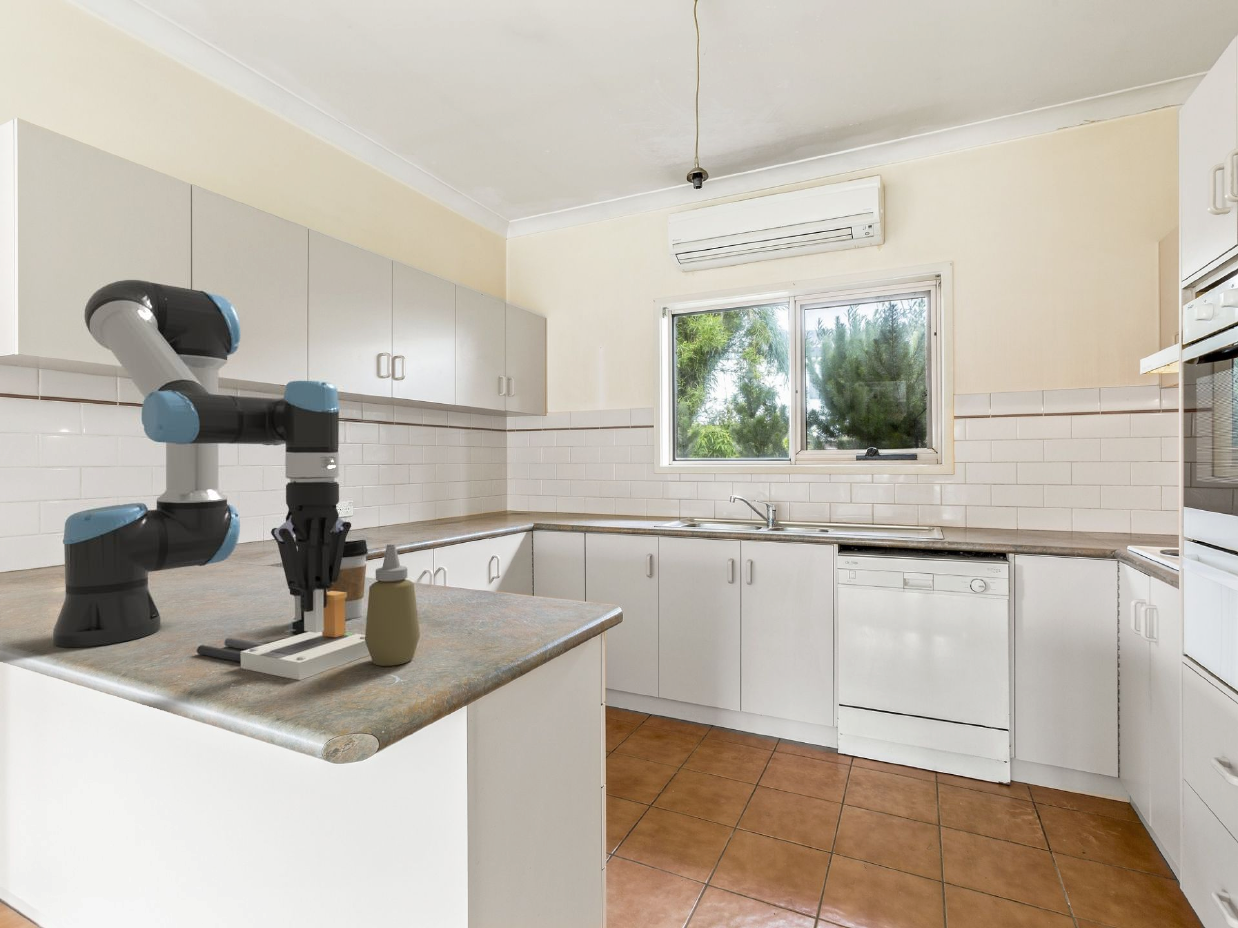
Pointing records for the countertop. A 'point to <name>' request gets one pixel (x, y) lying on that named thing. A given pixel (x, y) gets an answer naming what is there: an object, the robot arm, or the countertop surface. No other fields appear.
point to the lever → (334, 614)
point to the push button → (297, 615)
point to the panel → (304, 654)
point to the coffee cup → (352, 577)
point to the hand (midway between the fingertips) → (314, 630)
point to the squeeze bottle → (392, 614)
